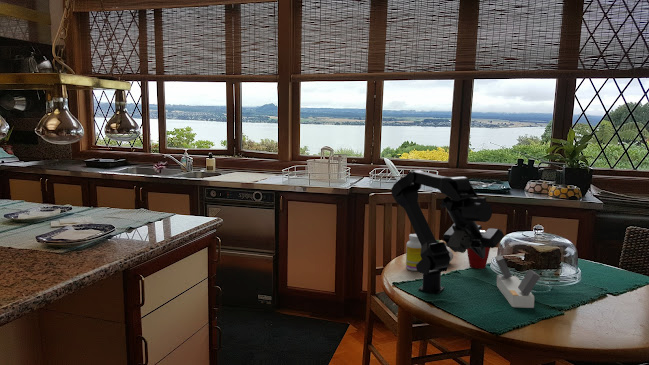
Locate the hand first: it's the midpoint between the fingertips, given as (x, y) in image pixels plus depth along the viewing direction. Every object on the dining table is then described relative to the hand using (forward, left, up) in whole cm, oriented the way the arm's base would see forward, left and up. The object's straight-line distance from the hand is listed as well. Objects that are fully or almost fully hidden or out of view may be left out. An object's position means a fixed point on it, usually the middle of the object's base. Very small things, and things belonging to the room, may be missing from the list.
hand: (483, 257), depth 137 cm
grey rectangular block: (0, -11, -9) cm, 15 cm away
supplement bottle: (+13, +29, -13) cm, 34 cm away
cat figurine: (+26, +27, -13) cm, 40 cm away
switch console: (+6, -8, -13) cm, 16 cm away
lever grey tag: (+12, -4, -9) cm, 16 cm away
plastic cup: (+29, +11, -13) cm, 34 cm away
